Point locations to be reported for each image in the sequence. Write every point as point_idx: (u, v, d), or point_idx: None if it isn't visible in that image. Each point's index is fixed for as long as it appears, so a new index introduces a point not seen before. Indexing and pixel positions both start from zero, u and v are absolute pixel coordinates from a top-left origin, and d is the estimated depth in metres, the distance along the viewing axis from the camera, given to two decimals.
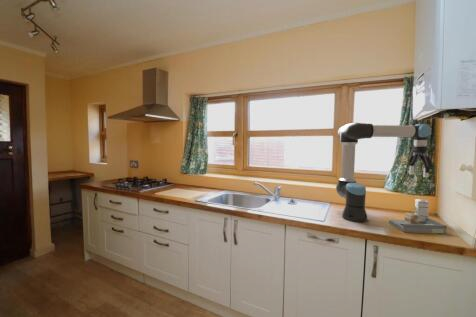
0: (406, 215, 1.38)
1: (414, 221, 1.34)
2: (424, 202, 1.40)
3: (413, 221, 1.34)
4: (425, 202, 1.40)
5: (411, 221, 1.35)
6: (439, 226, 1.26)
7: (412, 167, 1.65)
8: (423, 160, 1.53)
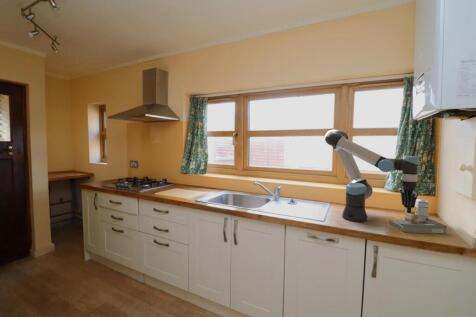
0: (406, 215, 1.38)
1: (414, 221, 1.34)
2: (424, 202, 1.40)
3: (413, 221, 1.34)
4: (425, 202, 1.40)
5: (411, 221, 1.34)
6: (439, 226, 1.26)
7: None
8: (409, 199, 1.38)
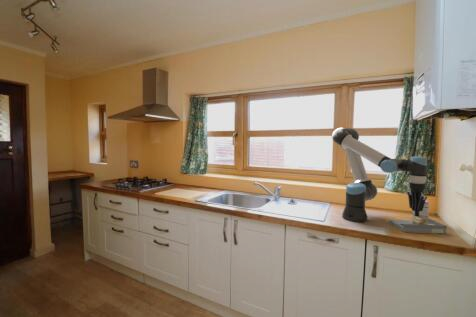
0: (414, 219, 1.32)
1: None
2: None
3: None
4: (425, 202, 1.40)
5: None
6: (439, 226, 1.26)
7: None
8: (417, 202, 1.32)
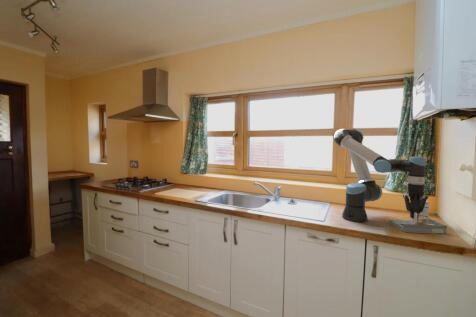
0: None
1: None
2: None
3: None
4: None
5: None
6: (439, 226, 1.26)
7: None
8: (410, 202, 1.30)
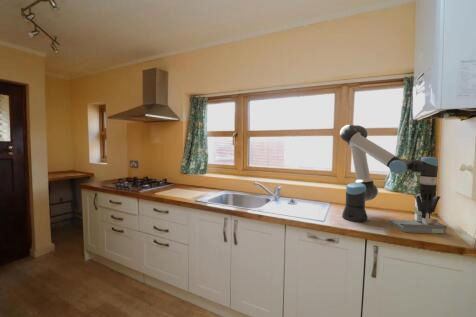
0: None
1: None
2: None
3: None
4: None
5: None
6: (439, 226, 1.26)
7: None
8: None
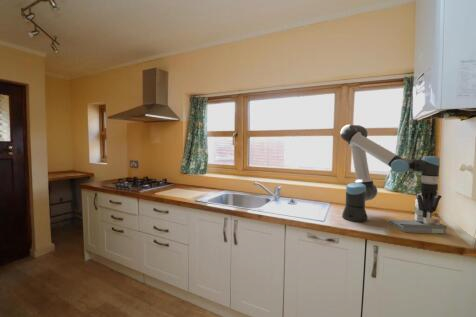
0: None
1: None
2: None
3: None
4: None
5: None
6: (439, 226, 1.26)
7: None
8: (423, 201, 1.30)
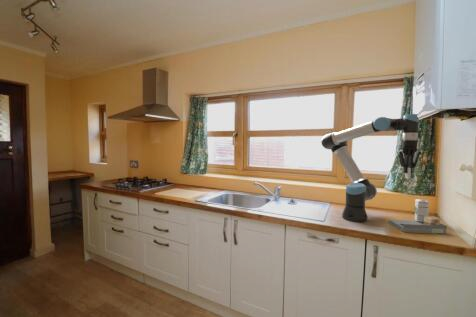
0: (425, 219, 1.31)
1: None
2: (424, 202, 1.40)
3: None
4: (425, 202, 1.40)
5: None
6: (439, 226, 1.26)
7: None
8: (404, 158, 1.37)
